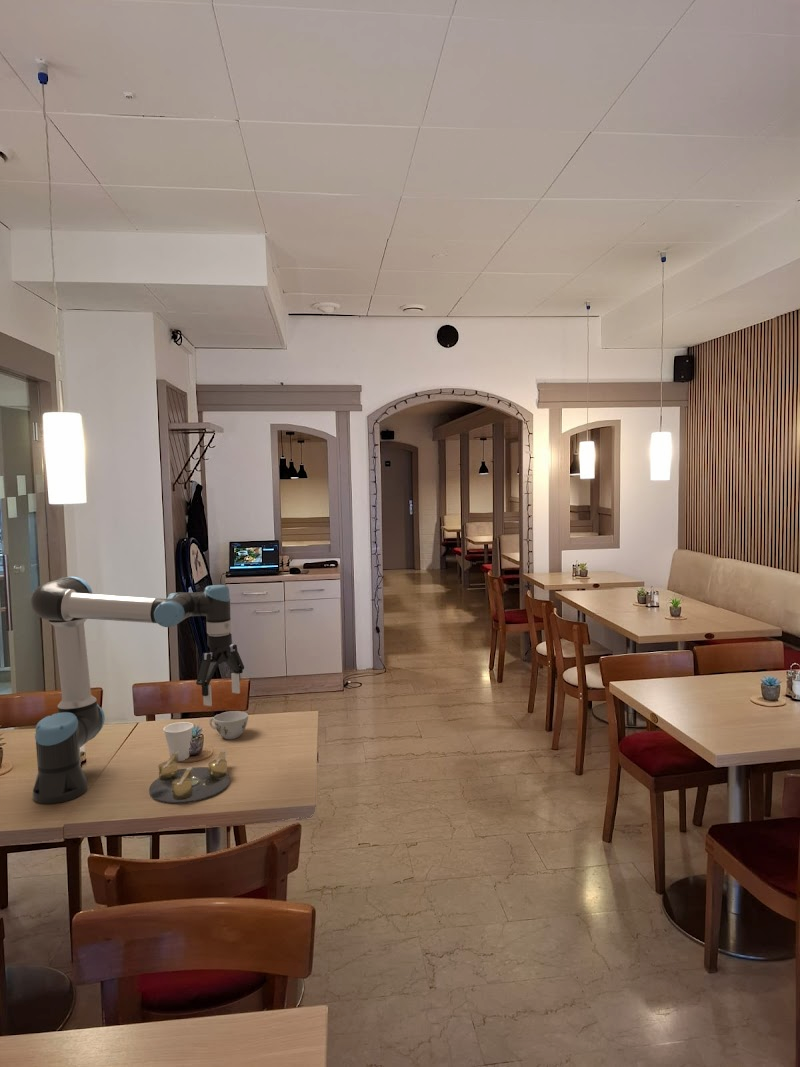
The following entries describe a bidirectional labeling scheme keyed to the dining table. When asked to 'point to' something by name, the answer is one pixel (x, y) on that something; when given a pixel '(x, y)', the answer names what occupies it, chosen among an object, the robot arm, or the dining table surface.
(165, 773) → the knob left
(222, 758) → the knob right
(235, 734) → the teacup
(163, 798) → the plate
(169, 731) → the cup
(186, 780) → the knob front
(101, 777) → the dining table surface
